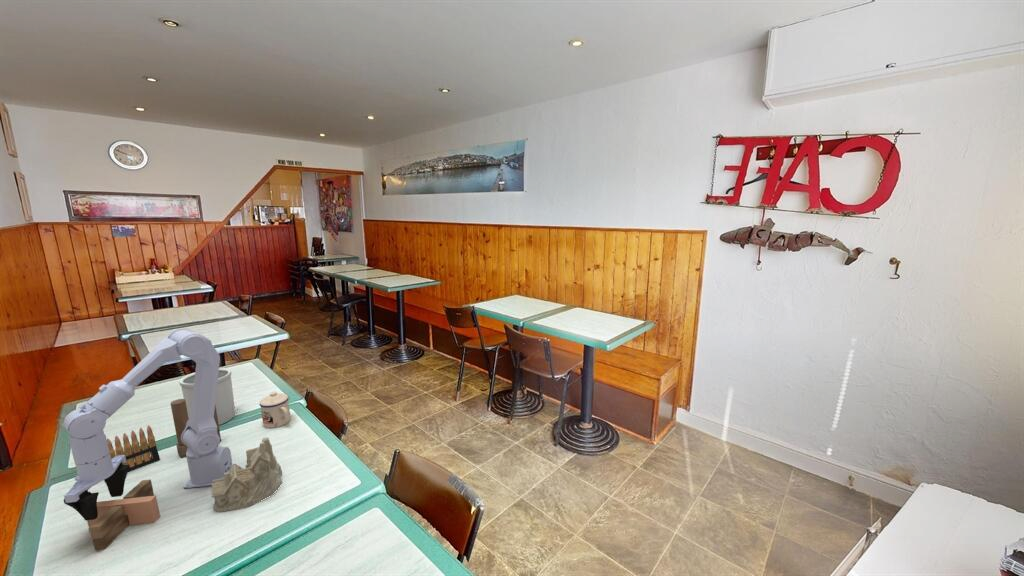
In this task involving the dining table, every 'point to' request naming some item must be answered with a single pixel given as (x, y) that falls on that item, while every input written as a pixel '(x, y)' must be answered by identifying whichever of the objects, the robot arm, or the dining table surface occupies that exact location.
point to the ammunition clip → (136, 449)
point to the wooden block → (184, 423)
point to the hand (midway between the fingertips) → (104, 506)
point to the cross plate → (131, 509)
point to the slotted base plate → (116, 518)
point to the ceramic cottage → (248, 480)
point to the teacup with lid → (275, 410)
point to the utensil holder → (222, 394)
